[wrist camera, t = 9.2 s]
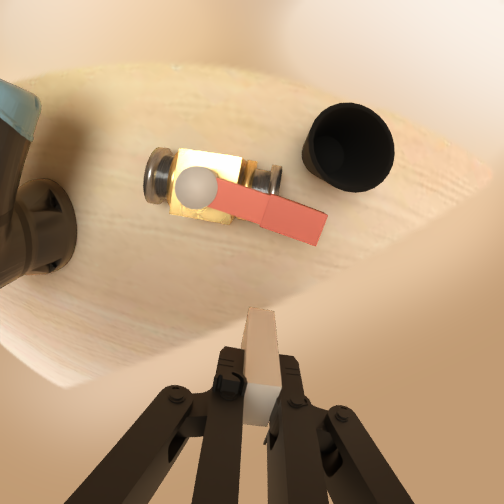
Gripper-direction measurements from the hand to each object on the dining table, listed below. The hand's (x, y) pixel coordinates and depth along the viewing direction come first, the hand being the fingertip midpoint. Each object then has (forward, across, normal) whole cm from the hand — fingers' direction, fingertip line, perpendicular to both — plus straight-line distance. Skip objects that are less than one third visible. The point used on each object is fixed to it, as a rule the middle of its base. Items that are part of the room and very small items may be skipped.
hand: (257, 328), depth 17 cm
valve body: (+20, -6, +7) cm, 22 cm away
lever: (+10, -2, +6) cm, 12 cm away
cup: (+20, +6, +13) cm, 24 cm away
